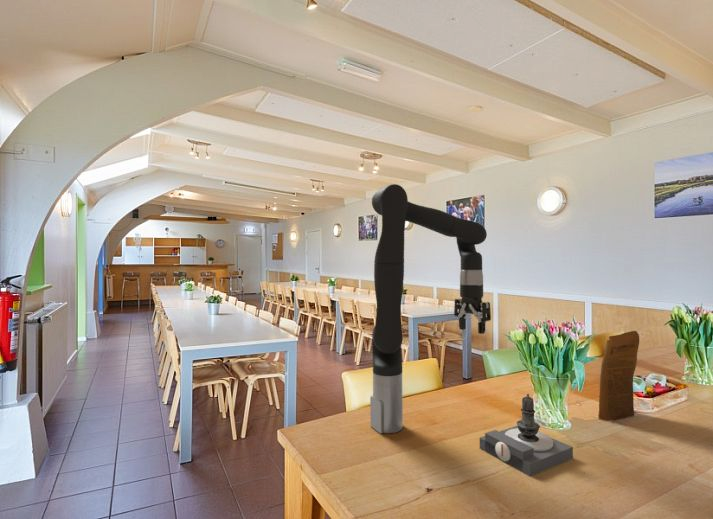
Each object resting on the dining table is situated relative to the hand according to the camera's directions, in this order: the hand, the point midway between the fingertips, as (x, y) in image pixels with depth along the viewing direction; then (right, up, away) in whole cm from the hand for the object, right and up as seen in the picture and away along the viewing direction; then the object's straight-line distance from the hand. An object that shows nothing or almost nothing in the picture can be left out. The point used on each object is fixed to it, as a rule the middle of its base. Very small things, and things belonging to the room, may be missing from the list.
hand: (471, 331), depth 131 cm
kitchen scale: (+7, -28, -26) cm, 39 cm away
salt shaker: (+8, -24, -25) cm, 36 cm away
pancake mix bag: (+48, -28, -2) cm, 56 cm away
